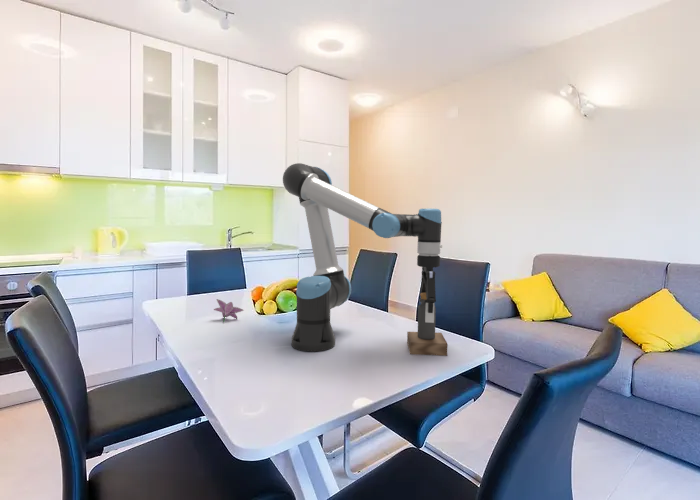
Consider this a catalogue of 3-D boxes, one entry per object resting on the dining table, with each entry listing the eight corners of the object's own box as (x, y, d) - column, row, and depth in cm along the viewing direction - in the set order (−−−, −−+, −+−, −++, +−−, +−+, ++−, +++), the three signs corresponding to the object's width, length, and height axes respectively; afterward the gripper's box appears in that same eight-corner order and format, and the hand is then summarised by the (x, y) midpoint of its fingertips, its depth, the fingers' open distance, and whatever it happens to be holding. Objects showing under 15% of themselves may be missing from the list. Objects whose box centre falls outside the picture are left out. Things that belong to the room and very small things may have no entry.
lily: (246, 324, 158) (248, 302, 162) (223, 319, 150) (226, 296, 154) (227, 329, 164) (229, 307, 168) (204, 323, 156) (207, 301, 160)
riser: (409, 354, 122) (410, 342, 122) (407, 342, 134) (407, 331, 134) (447, 355, 121) (447, 343, 121) (441, 343, 133) (441, 332, 133)
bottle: (435, 340, 124) (436, 295, 123) (417, 339, 125) (418, 294, 124) (434, 335, 130) (435, 292, 129) (417, 334, 131) (418, 291, 130)
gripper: (446, 258, 112) (444, 327, 114) (434, 251, 137) (432, 308, 139) (421, 258, 113) (419, 326, 115) (414, 251, 138) (412, 307, 140)
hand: (426, 317), depth 127 cm, fingers open, 13 cm apart
